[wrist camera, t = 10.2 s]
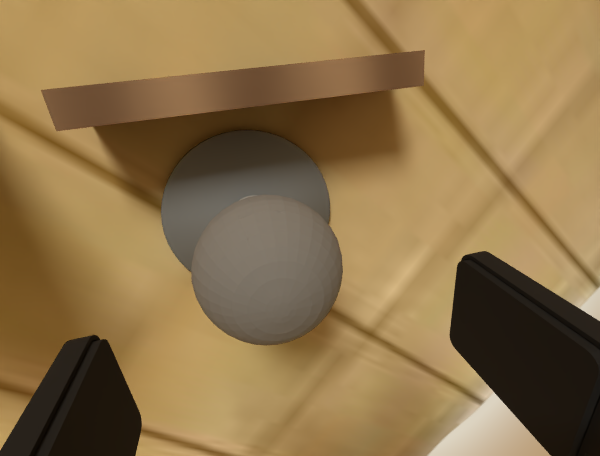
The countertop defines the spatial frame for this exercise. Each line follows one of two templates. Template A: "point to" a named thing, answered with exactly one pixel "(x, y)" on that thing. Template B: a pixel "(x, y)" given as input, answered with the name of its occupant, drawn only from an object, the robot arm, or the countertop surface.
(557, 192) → the countertop surface
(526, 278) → the robot arm
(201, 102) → the walnut rail
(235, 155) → the pad
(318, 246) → the light bulb
